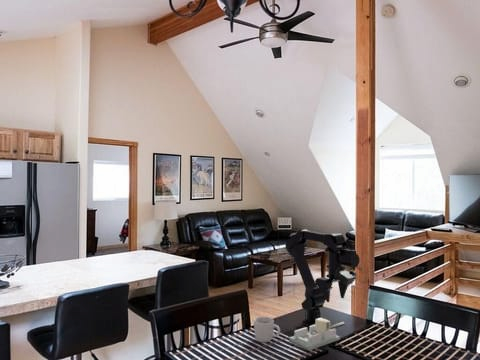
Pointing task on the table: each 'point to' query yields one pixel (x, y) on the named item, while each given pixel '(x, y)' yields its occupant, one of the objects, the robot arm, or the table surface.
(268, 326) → the cup
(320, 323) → the plug
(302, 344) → the board
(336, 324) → the lead
